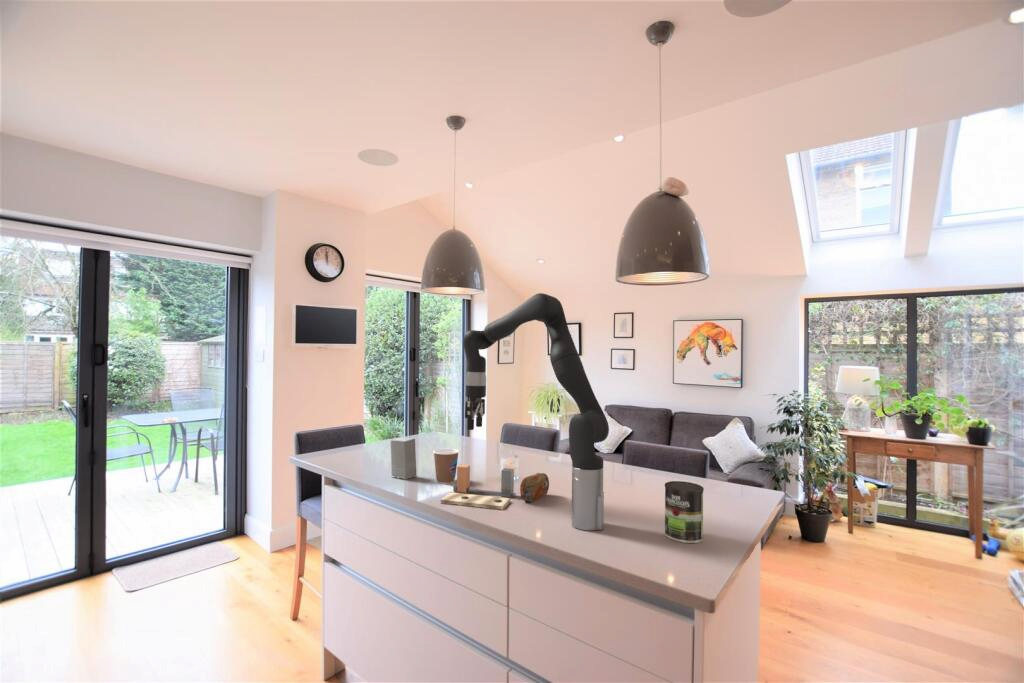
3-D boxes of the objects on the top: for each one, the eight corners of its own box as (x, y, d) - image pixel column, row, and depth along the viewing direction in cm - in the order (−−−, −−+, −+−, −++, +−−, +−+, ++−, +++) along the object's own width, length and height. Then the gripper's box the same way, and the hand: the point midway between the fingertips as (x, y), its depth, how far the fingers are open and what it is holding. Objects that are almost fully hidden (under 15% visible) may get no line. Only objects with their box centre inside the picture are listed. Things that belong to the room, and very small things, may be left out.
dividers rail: (516, 495, 167) (517, 469, 167) (514, 498, 163) (514, 471, 164) (457, 489, 173) (457, 464, 174) (453, 491, 170) (453, 466, 170)
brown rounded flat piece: (525, 504, 156) (526, 479, 157) (518, 503, 158) (518, 478, 158) (549, 494, 168) (550, 471, 168) (542, 493, 170) (542, 470, 170)
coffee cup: (454, 485, 179) (455, 454, 179) (428, 484, 180) (429, 453, 181) (461, 478, 189) (462, 449, 189) (437, 477, 190) (437, 448, 191)
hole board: (510, 501, 159) (510, 497, 159) (502, 509, 150) (502, 505, 150) (451, 495, 165) (451, 492, 165) (440, 503, 156) (440, 499, 156)
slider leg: (469, 490, 172) (470, 465, 172) (465, 492, 168) (466, 467, 169) (460, 489, 173) (461, 464, 173) (456, 491, 169) (457, 466, 170)
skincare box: (416, 477, 190) (417, 438, 191) (404, 480, 184) (405, 440, 185) (401, 474, 195) (402, 436, 196) (389, 477, 189) (390, 438, 190)
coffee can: (693, 546, 122) (693, 493, 123) (657, 535, 130) (658, 485, 130) (709, 536, 130) (709, 486, 130) (674, 527, 137) (675, 479, 138)
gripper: (478, 385, 163) (477, 431, 163) (491, 383, 177) (490, 426, 176) (459, 384, 166) (457, 430, 165) (473, 383, 179) (472, 425, 179)
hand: (474, 428), depth 171 cm, fingers open, 8 cm apart
